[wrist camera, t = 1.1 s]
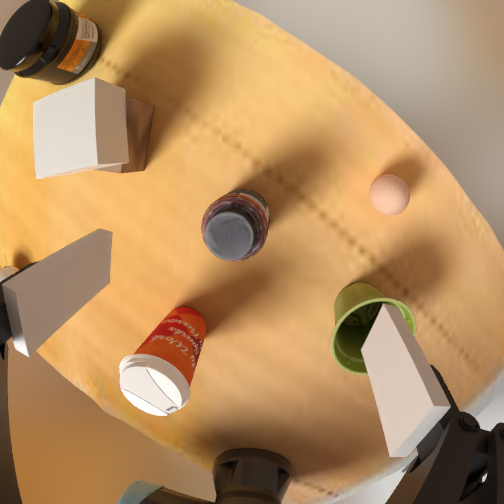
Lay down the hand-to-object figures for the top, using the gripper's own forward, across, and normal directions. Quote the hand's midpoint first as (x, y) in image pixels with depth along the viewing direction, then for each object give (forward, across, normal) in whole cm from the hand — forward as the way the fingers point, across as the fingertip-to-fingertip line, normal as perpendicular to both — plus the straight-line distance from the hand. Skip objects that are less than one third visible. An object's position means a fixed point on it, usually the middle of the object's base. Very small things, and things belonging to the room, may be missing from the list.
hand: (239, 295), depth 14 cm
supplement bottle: (+22, +2, +2) cm, 22 cm away
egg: (+23, -12, -5) cm, 26 cm away
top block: (+16, +20, -5) cm, 26 cm away
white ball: (+21, +37, +20) cm, 47 cm away
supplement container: (+23, +31, -16) cm, 42 cm away
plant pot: (+22, -14, +9) cm, 28 cm away
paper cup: (+21, +6, +18) cm, 29 cm away
